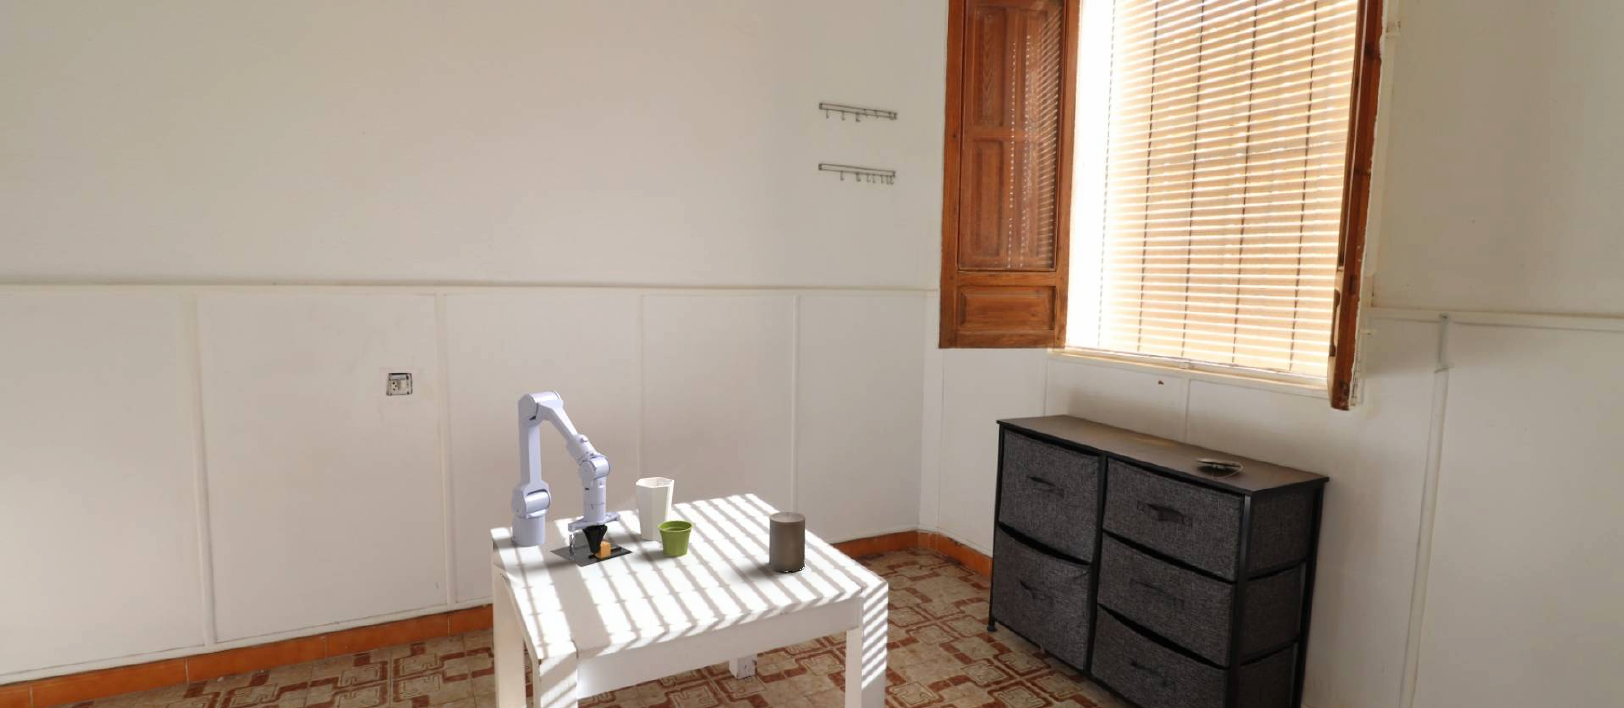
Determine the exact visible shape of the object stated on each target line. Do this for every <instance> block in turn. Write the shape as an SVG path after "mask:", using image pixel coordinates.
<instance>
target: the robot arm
mask: <svg viewBox="0 0 1624 708" xmlns="http://www.w3.org/2000/svg"><path fill="white" fill-rule="evenodd" d="M517 411H518V414H517V415H518V421H517V422H518V423H517V424H518V445H519V447H518V448H519V465H520V467H519V468H520V481H519V482H518V484H516V486H515V487H514V488H513V489H512V498H511V501H510V508H511V511H512V513H513V514H514V516H513V518H512V521H511V524H512V526H511V528H512V529H511V532H512V533H511V534H512V535H511V536H512V540H511V541H513V542H515V543H517V545H519V546H520V547H524V548H525V547H526V548H527V547H536V546H542V545H543V544H544V543H545V542H546V513H548V509H549V508H550V507H551V505H552V495H551V493H550V489H549V486H550V485H549V484H548V483H547V482H545V481H544V480H542V462H541V439H540V438H541V437H540V435H541V434H540V424H541V423H542V422H543V421H547V422H548V421H549V422H550V424H552V426H554V428H555V429H556V430H557V432H559V434H560V435H561V437H563V439H565V441H566V444H565V448H566V450H567V452H568V453H569V454H570V456H571V457H572V458H573V460H574V461H575V463H576V465H578V467H579V468H578V469H577V471H578V472H577V473H578V476H579V477H580V480H581V481H580V482H581V487H583V489H582V490H583V492H582V494H583V496H582V498H583V502H582V503H583V507H582V508H583V509H582V510H583V512H582V513H583V516H582V518H579V519H577V520H574V521H572V522H569V523H567V531H568V532H570V533H574V532H577V531H583V532H584V534H585V536H586V538H587V541H588V544H589V547H590V552H592V553H594V554H596V553H599V549H600V545H601V542H602V539H604V537H605V535H606V533H607V531H608V530H609V529H608V525H607V524H608V523H613V522H620V521H621V513H619V512H616V511H615V512H610V513H606V511H607V507H606V506H607V505H606V504H607V502H606V499H607V491H606V490H607V489H606V488H607V485H606V484H607V481H606V480H607V477H608V476H609V475H610V473H611V463H610V461H609V460H610V459H608V457H607V456H606V455H603V454H601V453H600V452H597V451H596V449H595V448H594V446H593V445H592V444H591V442H590V441H589V439H588V437H587V436H586V435H585V434H580V433H578V432H577V430H576V428H575V426H574V425H573V423H572V421H571V420H570V419H569V417H568V414H567V413H566V412H565V411H566V410H564V400H563V399H562V398H561V397H560V394H559V393H558V392H557V391H555V390H548V391H543V392H535V393H526V394H523V396H521V398H519V400H518V401H517Z"/></svg>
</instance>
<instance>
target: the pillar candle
mask: <svg viewBox="0 0 1624 708" xmlns="http://www.w3.org/2000/svg"><path fill="white" fill-rule="evenodd" d="M768 538H769V542H768V543H769V545H768V546H769V547H768V548H769V551H768V554H769V555H768V557H769V558H768V560H769V561H768V562H769V563H768V566H769V568H770V569H771V568H772V569H773V571H775V572H778V571H796V572H799V571H798V570H800V569H802V568H803V567H804V568H805V567H806V566H805V559H806V558H805V557H806V515H804V514H803V513H801V512H796V511H778V512H774V513H773V514H771V515H769V537H768ZM772 569H771V570H772ZM802 570H803V569H802ZM800 571H801V570H800Z"/></svg>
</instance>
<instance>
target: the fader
mask: <svg viewBox="0 0 1624 708" xmlns="http://www.w3.org/2000/svg"><path fill="white" fill-rule="evenodd" d="M595 556H596V557H598V558H604V557H607V556H610V543H608V542H605V541H603V542H601V545H600V549H599V553H596V554H595Z"/></svg>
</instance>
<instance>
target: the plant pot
mask: <svg viewBox="0 0 1624 708" xmlns="http://www.w3.org/2000/svg"><path fill="white" fill-rule="evenodd" d="M693 528H694V524H693V523H692V522H691V521H688V520H679V519H678V520H669V521H667V522H663V523H661V524H659V525H658V529H659V530H660V534H661V538H662V542H661V543H662V551H663V555H664V556H666V557H670V558H676V557H678V558H679V557H683V556H685V555H687V554H688V549H689V541H690V535H691V532H692V529H693Z"/></svg>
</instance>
